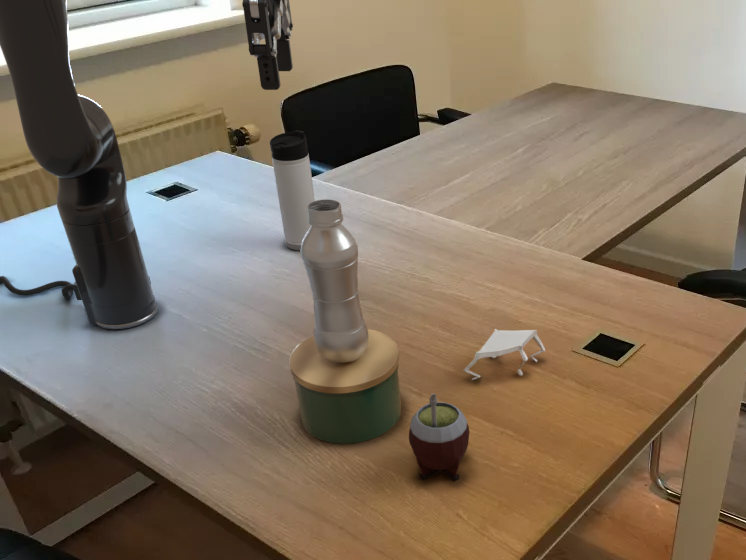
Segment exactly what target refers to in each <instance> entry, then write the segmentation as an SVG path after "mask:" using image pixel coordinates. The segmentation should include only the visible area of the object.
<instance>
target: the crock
mask: <svg viewBox="0 0 746 560" xmlns="http://www.w3.org/2000/svg"><path fill="white" fill-rule="evenodd" d="M367 330H368V334H369V340H368V348H367V350H366V351H365V353H364V354H363V356H361V357H360V358H358V359H357V360H354V361H351V362H345V363H337V362H331V361H328V360H327V359H325V358H324V357H323V356H322V355H321V354H320V353H319V352H318V350H317V347H316V344H315V341H314V335H311V336H309V337H307V338H306V339H304V340H303V341H301V342H300V343H299V344H297V346H296V347H294V349H293V350H292V352H291V354H290V356H289V360H288V363H289V369H290V372H291V373H290V374H291V376H292V379H293V380H294V384H295V390H296V395H297V401H298V407H299V413H300V418H301V423H302V426H303V428H304V429H305V430H306V432H307V433H308V434H310V435H311V436H312V437H314V438H316V439H318V440H320V441H324V442H327V443H331V444H332V443H333V444H342V445H343V444H344V445H345V444H347V445H348V444H357V443H362V442H366V441H369V440H372V439H376V438H377V437H380V436H381V435H384V434H385V433H387V432H388V431H389V430H391V429H392V428H393V427H394V426H395V425H396V424H397V422H398V420H399V419H400V416H401V414H402V400H401V391H400V389H401V388H400V380H399V379H400V378H399V377H400V376H399V365H400V352H399V351H400V350H399V347H398V344H397V343H396V342H395V341H394V339H393V338H391V337H390V336H389V335H387V334H384V333H383V332H381V331H378V330H375V329H371V328H367Z"/></svg>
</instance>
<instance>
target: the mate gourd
mask: <svg viewBox="0 0 746 560" xmlns="http://www.w3.org/2000/svg"><path fill="white" fill-rule="evenodd" d="M428 401H429V403H427V404H424V405H423V406H421V407H420V408H419V409H418V410H417V411H416V413H414V414H413V416H412V417H411V420H410V425H409V431H408V441H409V445H410V447H411V449H412V452H413V455H414V457H415V459H416V464H417V466H418V468H419V471H420V473H419V474H418V477H419V479H420V480H421V481H424V480H427V479H428V478H430V477H432V476H434V475H435V474H438V473H439V472H442V473H443V474H444V475H446V476H447V477H449V478H450V479H451V480H453V481H454V482H457V481H458V480H460V477H461V475H459V474H458V470H459V467H460V462H461V460H462V459H463V457H464V456H465V454H466V452H467V449H468V447H469V440H470V427H469V424H468V419H467V418H466V416H465V414H464V413H463V411H462V410H461V409H459V408H458V407H457V406H455V405H454V404H452V403H449V402H448V403H447V402H445V401H438V397H437V394H435V393H431V394H430V397H429V400H428Z"/></svg>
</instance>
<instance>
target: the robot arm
mask: <svg viewBox="0 0 746 560" xmlns="http://www.w3.org/2000/svg"><path fill="white" fill-rule="evenodd" d="M67 2H68V1H67V0H0V49H1V52H2V55H3V58H4V60H5V64H6V66H7V69H8V72H9V76H10V79H11V84H12V88H13V92H14V96H15V100H16V105H17V110H18V114H19V119H20V125H21V128H22V132H23V136H24V140H25V143H26V146H27V148H28V151H29V152H30V154H31V156H32V157H33V159H34V160H35V161H36V163H37V164H38V165H39V166H40V167H41V168H43V169H44V170H45V171H46V172H47V173H49V174H51V175H53V176H54V177H57V193H56V199H55V201H56V202H55V204H56V207H57V211H58V214H59V218H60V220H61V223H62V227H63V229H64V232H65V235H66V238H67V241H68V244H69V246H70V250H71V253H72V256H73V259H74V262H75V265H74V266H73V268H72V271H71V273H72V275H73V277H74V278H73V279H74V282H73V283H72V282H69V281H67V280H56V281H52V282H48V283H45V284H43V285H41V286H37V287H34V288H30V289H29V288H28V289H19V288H17V287H15V286H14V285H13V284H12V283H11V282H10V280H9V279H8V278H7V276H5V275H0V284H3V286H4V287H5V288H6V289H7V290H8V291H9V292H10V293H12V294H14V295H17V296H20V297H21V296H22V297H26V296H27V297H28V296H34V295H37V294H41V293H43V292H47V291H50V290H52V289H56V288H59V287H62V289H61V294H62V296H63V298H64V299H65V300H70V299H71V297H72V295H73V293H74V295H75V298H76V300H77V301H81V303H82V305H83V308H84V311H85V314H86V317H87V320H88V323H89V326H98V327H100V328H102V329H106V330H125V329H130V328H134V327H138V326H140V325H142V324H145V323H146V322H148V321H150V320H151V319H153V318H154V317H155V316H156V315H157V314H158V311H159V308H158V307H159V306H158V303H157V301H156V298H155V295H154V291H153V288H152V282H151V278H150V276H149V274H148V270H147V266H146V262H145V259H144V255H143V251H142V248H141V244H140V240H139V236H138V234H137V231H136V227H135V222H134V220H133V215H132V213H131V208H130V204H129V201H128V196H127V195H128V194H127V192H128V183H127V176H126V171H125V167H124V164H123V163H124V162H123V158H122V155H121V151H120V146H119V142H118V138H117V135H116V132H115V128H114V125H113V123H112V121H111V119H110V117H109V116H108V114H107V113H106V111H105V110H104V109H103V107H101V105H99V104H98V103H97V102H95V101H94V100H93V99H90V98H89V97H86V96H84V95H80V94H78V91H77V88H76V85H75V81H74V78H73V74H72V68H71V65H70V55H69V53H70V52H69V17H68V3H67ZM241 5H242V8H243V9H242V10H243V13H244V14H243V16H244V23H245V30H246V36H247V43H248V44H247V45H248V52H249V55H250V56H254V58H256V62H257V68H258V76H259V81H260V87H261V89H262V90H265V91H277V90H279V89H280V87H281V79H280V72H291V71H292V69H293V68H294V65H293V58H292V49H291V43H290V42H291V41H290V40H291V38H292V32H291V31H293V28H294V24H293V20H292V12H291V5H290V0H242V3H241ZM261 40H264V42H265V43H261Z"/></svg>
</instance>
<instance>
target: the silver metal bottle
mask: <svg viewBox="0 0 746 560" xmlns="http://www.w3.org/2000/svg"><path fill="white" fill-rule="evenodd" d="M308 222H309V224H310V225H311V227H310V229H309V230H308V231H307V233H306V235H305V236H304V238H303V240H302V243H301V250H299V251H300V255H301V259H302V260H301V261H302V262H303V265H304V268H305V271H306V274H307V279H308V281H309V286H310V290H311V295H312V300H313V314H314V328H313V336H314V341H315V344H316V347H317V350H318V352H319V353H320V354H321V355H322V356H323V357H324V358H325V359H327V360H328V361H331V362H337V363H345V362H351V361H354V360H357V359H358V358H360V357H361V356H363V354H364V353H365V351H366V350H367V348H368V340H369V334H368V330H367V329H368V326H367V324H366V321H365V318H364V315H363V311H362V306H361V301H360V296H359V281H358V267H359V266H358V265H359V246H358V243H357V241H356V239H355V237H354V235H353V234H352V233H351V232H350V231H349V229H348V228H346V226H345V225H344V224H342V223H343V222H344V215H343V210H342V205H341V202H340V201H338V200H336V199H324V198H323V199H317V200H315V201H314V202H311V203H310V204H309V205H308Z"/></svg>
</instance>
